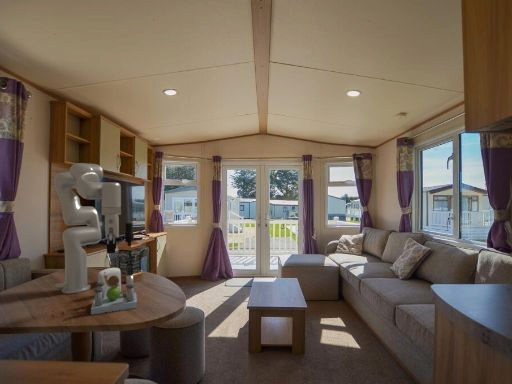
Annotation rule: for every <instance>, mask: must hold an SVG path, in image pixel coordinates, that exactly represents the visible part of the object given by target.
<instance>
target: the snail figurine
mask: <svg viewBox="0 0 512 384" xmlns="http://www.w3.org/2000/svg"><path fill="white" fill-rule="evenodd" d="M105 273H106V272H104V278H105V281H106V284H107V286H109V287H111V288H110V289H109V290H108V291H107V298H108V299H110V300H116V299H117V298H118V297H119V296H120V294H121V292H120V289H119V288H117V287H118V286H119V284H118V283H119V278H118V277H117V276H115V275H113V276H111V277H110V278H109V280H108V275H105Z"/></svg>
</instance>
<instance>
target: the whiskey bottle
mask: <svg viewBox="0 0 512 384" xmlns="http://www.w3.org/2000/svg"><path fill="white" fill-rule="evenodd" d="M133 228H134V227H133V222H126V223H125V228H124V229H125V233H124V241H122V242H121V243H119V244H118V245H117V251H118V252H117V253H118V256H117V259H118V260H117V261H118V262H117V264H118V267H117V268H119V269H120V271H121V283H125V284H127V276H128V275H133V283H135V282H138V281H141V280H143V271H142V261H141V248H142V244H141V243H140V242H137V241H135V240H134V239H135V238H134V232H133V231H134V230H133Z"/></svg>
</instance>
